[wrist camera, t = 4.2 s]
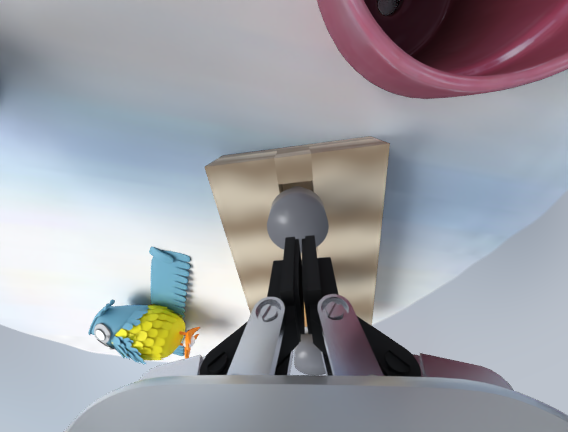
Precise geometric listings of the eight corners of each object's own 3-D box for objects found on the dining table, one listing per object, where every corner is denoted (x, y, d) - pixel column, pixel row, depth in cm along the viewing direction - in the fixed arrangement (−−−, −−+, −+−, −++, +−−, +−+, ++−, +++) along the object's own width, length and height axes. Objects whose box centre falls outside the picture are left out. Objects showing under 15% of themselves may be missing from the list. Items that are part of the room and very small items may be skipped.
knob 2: (293, 307, 27) (292, 354, 22) (326, 306, 27) (333, 353, 22) (296, 328, 29) (296, 375, 24) (327, 327, 29) (334, 375, 24)
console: (222, 155, 23) (204, 166, 18) (370, 136, 21) (389, 143, 17) (263, 310, 35) (259, 339, 30) (360, 306, 33) (370, 336, 28)
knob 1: (271, 177, 19) (261, 203, 14) (318, 172, 18) (327, 196, 13) (278, 218, 21) (272, 254, 16) (321, 214, 20) (329, 250, 15)
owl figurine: (179, 410, 36) (91, 391, 35) (200, 357, 43) (129, 340, 43) (186, 309, 23) (47, 275, 22) (215, 259, 30) (113, 232, 30)
